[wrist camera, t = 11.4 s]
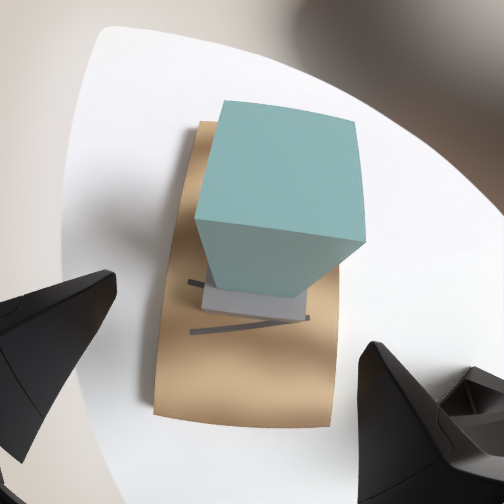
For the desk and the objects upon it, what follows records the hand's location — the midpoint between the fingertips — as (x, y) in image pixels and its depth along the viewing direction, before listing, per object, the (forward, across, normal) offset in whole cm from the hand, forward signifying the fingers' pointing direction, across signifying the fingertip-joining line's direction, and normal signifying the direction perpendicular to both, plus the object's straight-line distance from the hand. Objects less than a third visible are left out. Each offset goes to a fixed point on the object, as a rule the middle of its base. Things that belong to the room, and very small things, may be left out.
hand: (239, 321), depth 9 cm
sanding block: (+10, 0, +3) cm, 10 cm away
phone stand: (+5, -22, +11) cm, 25 cm away
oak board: (+12, 0, +4) cm, 12 cm away
